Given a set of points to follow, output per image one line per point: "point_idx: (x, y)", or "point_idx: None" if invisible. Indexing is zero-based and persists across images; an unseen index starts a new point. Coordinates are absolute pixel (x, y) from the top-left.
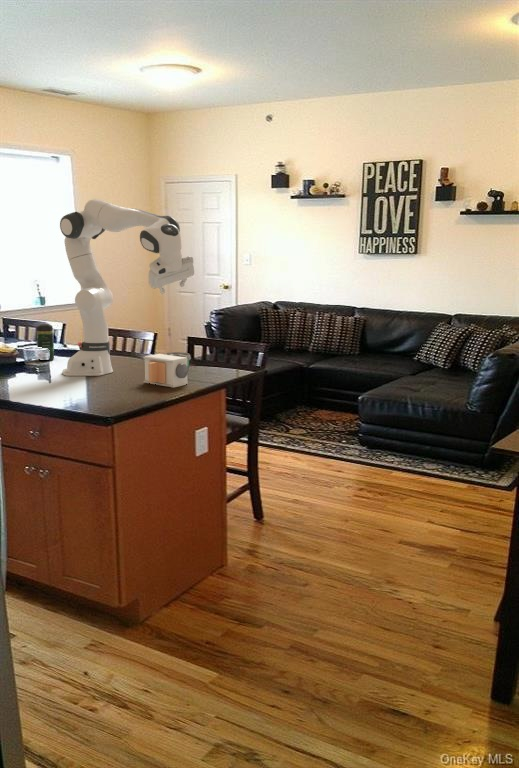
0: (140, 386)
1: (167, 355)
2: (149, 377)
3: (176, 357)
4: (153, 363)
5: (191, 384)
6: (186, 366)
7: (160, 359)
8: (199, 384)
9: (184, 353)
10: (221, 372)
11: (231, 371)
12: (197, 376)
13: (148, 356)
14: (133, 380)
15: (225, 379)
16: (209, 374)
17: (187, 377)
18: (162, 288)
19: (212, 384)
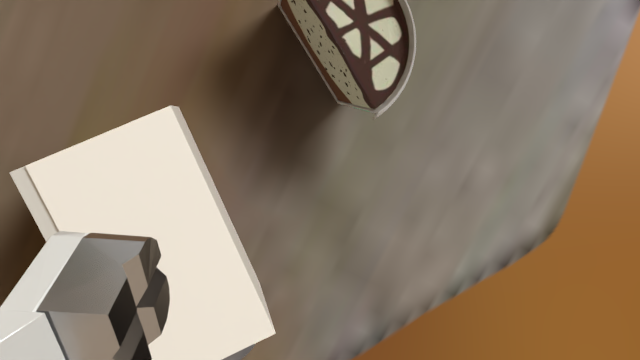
0: (10, 230)
1: (191, 203)
2: None
3: (213, 303)
4: None
5: (275, 292)
6: (247, 350)
7: None
8: (310, 307)
9: (404, 6)
10: (548, 78)
11: (602, 78)
12: (394, 118)
13: (47, 188)
14: (30, 57)
15: (474, 250)
16: (472, 98)
17: (262, 292)
18: (85, 338)
19: (364, 332)
